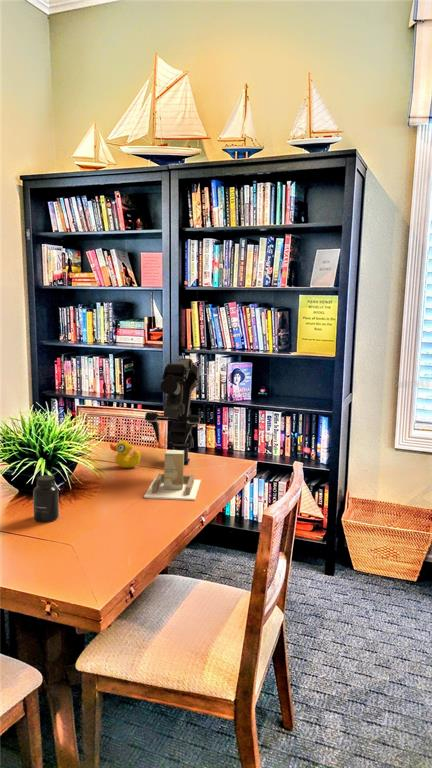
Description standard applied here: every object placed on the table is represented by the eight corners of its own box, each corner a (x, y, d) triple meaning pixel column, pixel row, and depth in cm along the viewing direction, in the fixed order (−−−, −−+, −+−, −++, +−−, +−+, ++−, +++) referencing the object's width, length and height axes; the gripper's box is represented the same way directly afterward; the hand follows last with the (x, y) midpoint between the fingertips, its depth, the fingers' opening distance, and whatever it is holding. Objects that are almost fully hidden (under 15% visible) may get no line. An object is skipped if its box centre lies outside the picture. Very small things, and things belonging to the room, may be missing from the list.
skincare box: (163, 489, 180) (163, 453, 178) (164, 485, 184) (164, 449, 182) (183, 489, 180) (183, 453, 178) (184, 485, 184) (184, 449, 182)
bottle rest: (154, 479, 192) (154, 470, 191) (200, 481, 190) (201, 472, 190) (144, 498, 174) (144, 488, 173) (194, 500, 173) (195, 490, 172)
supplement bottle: (36, 524, 152) (34, 483, 150) (31, 516, 158) (30, 475, 156) (61, 520, 155) (60, 479, 153) (56, 512, 161) (55, 472, 159)
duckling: (108, 468, 202) (107, 442, 200) (112, 464, 207) (111, 438, 206) (138, 470, 201) (138, 443, 200) (142, 465, 206) (142, 439, 205)
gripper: (144, 394, 187) (140, 440, 185) (199, 396, 186) (196, 443, 184) (149, 398, 198) (145, 442, 196) (201, 401, 197) (198, 445, 195)
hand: (171, 443), depth 192 cm, fingers open, 9 cm apart
